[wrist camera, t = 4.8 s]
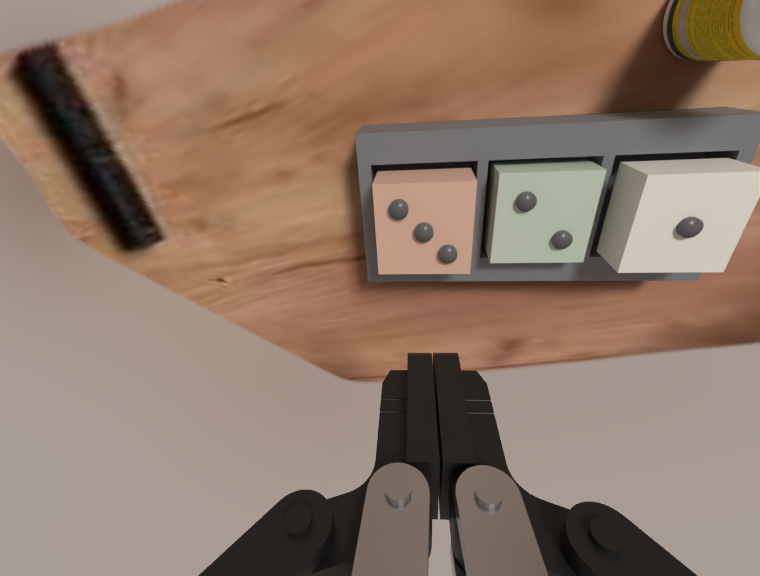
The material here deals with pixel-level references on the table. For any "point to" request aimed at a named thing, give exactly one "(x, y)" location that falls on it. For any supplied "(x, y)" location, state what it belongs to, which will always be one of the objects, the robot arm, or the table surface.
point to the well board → (540, 142)
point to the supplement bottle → (713, 29)
